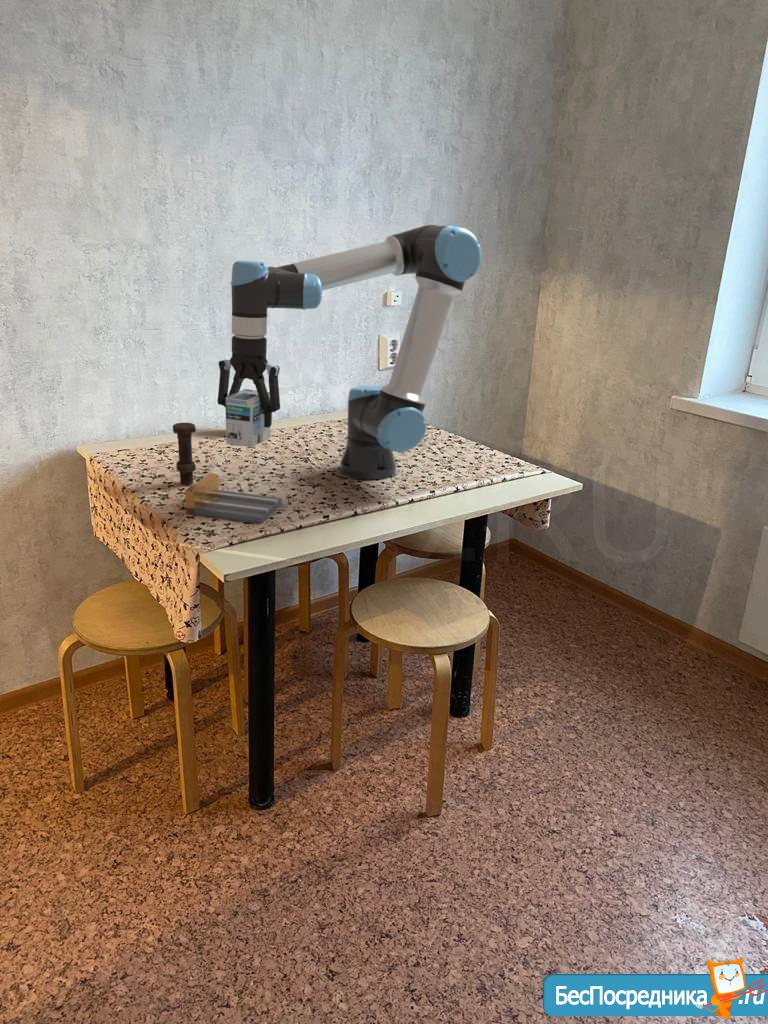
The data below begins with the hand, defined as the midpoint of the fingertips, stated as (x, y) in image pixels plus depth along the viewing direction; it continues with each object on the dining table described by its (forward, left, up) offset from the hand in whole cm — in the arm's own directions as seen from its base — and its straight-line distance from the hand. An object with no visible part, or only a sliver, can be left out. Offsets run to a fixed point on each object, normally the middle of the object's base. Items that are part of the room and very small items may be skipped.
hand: (248, 438), depth 175 cm
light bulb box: (0, 0, -1) cm, 1 cm away
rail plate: (+2, +4, -16) cm, 16 cm away
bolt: (+20, -8, -16) cm, 27 cm away
